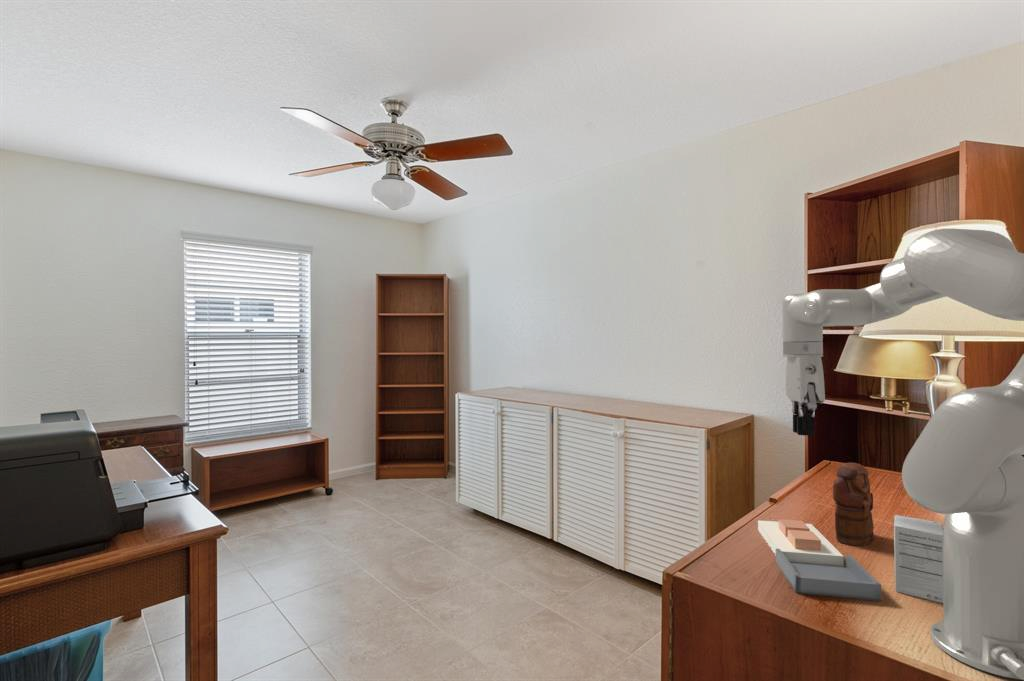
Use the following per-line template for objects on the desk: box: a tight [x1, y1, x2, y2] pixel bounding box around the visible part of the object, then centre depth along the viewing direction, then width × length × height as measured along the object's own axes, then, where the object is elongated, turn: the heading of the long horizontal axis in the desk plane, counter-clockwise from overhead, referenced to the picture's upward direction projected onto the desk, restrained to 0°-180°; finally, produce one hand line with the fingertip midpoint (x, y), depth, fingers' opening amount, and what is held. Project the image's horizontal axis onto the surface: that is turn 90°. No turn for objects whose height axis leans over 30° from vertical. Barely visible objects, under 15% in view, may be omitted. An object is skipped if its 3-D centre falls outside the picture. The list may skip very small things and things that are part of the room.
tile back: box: [778, 518, 810, 537], centre depth 113 cm, size 5×5×2 cm
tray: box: [775, 549, 882, 602], centre depth 96 cm, size 13×14×3 cm
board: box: [757, 520, 845, 566], centre depth 111 cm, size 18×12×2 cm, turn 167°
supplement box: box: [893, 514, 944, 604], centre depth 92 cm, size 7×7×13 cm
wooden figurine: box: [832, 462, 875, 546], centre depth 115 cm, size 12×6×18 cm, turn 129°
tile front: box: [788, 530, 821, 551], centre depth 107 cm, size 5×5×2 cm
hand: (803, 433), depth 106 cm, fingers closed
